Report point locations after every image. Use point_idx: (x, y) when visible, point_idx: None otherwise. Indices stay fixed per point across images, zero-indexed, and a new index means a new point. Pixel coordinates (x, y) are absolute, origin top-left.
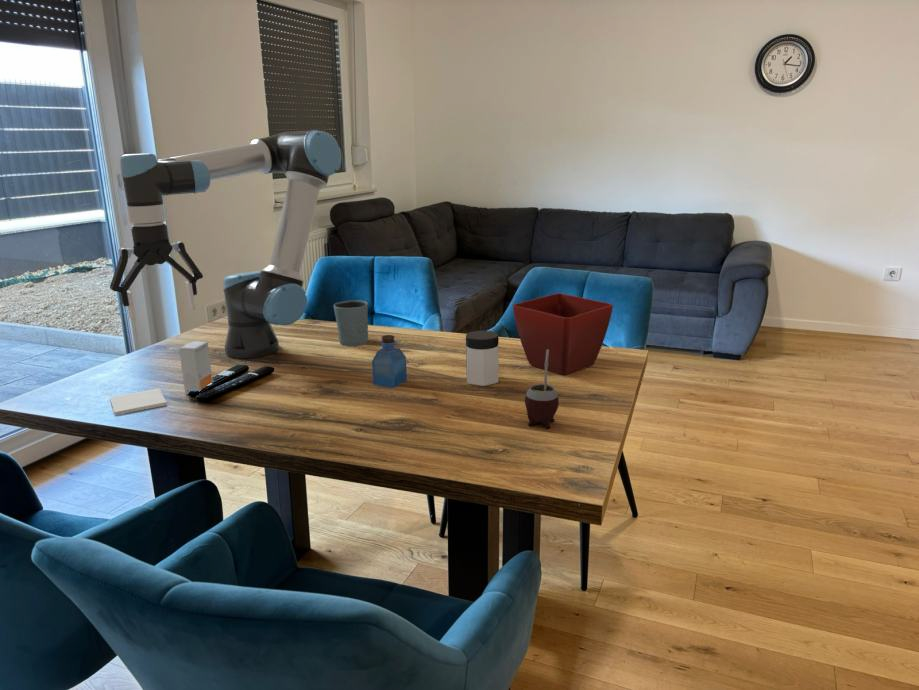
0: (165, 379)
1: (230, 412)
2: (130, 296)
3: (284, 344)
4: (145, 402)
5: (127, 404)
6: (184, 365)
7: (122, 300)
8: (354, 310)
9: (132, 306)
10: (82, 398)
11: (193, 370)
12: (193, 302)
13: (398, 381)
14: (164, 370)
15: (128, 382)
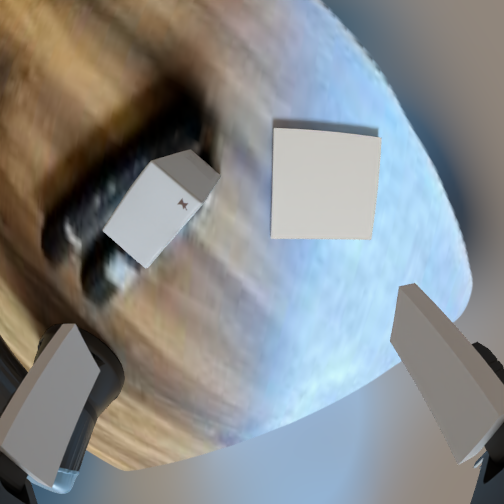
0: (244, 304)
1: (159, 18)
2: (490, 388)
3: None
4: (316, 155)
5: (352, 167)
6: (203, 181)
7: (500, 370)
8: None
9: (450, 335)
10: (399, 278)
11: (183, 160)
12: (47, 349)
13: None
14: (237, 354)
15: (313, 323)
